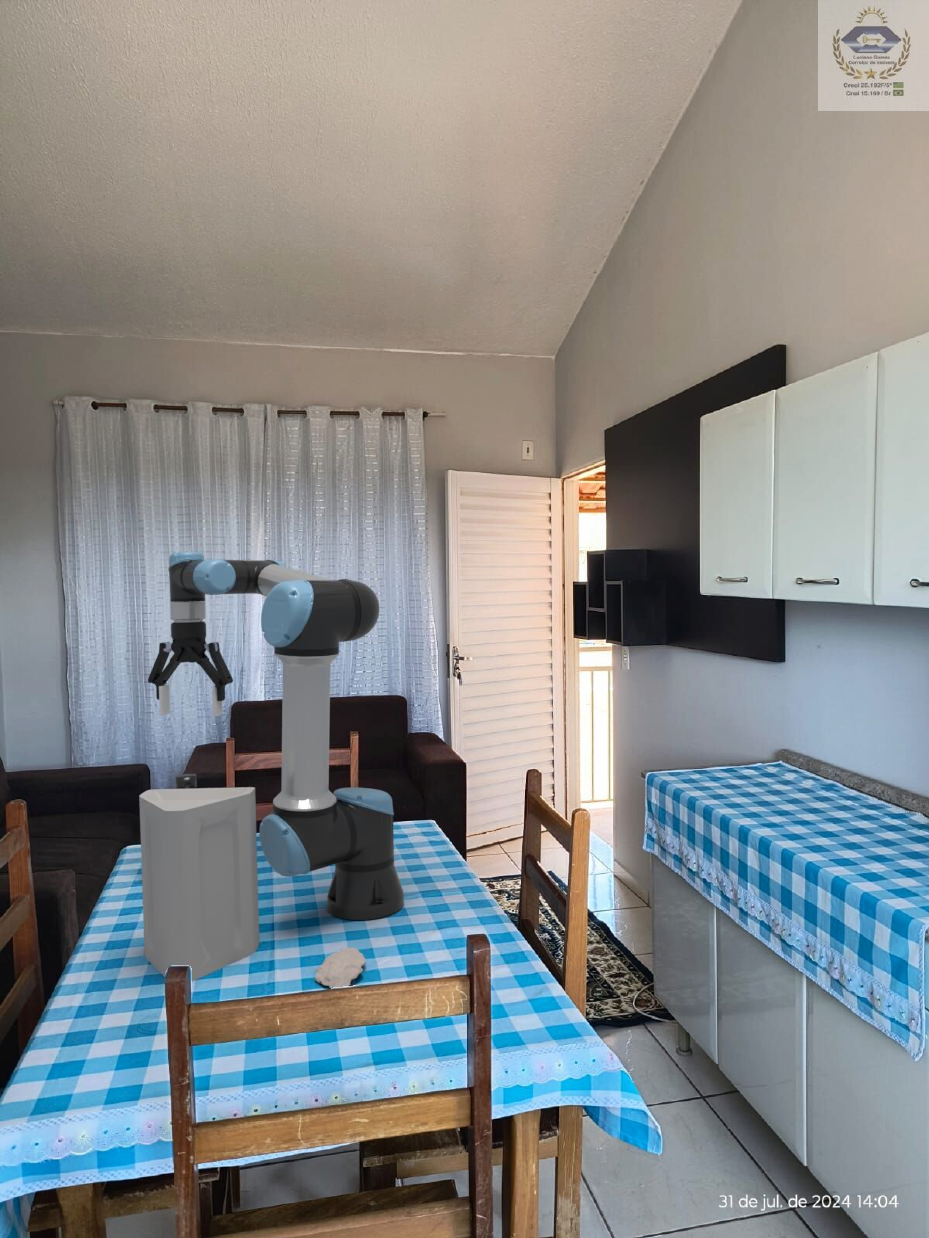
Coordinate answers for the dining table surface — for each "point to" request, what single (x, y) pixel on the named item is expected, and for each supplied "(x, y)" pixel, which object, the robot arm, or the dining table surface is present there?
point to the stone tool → (340, 968)
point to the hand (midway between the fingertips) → (191, 715)
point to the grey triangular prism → (199, 877)
